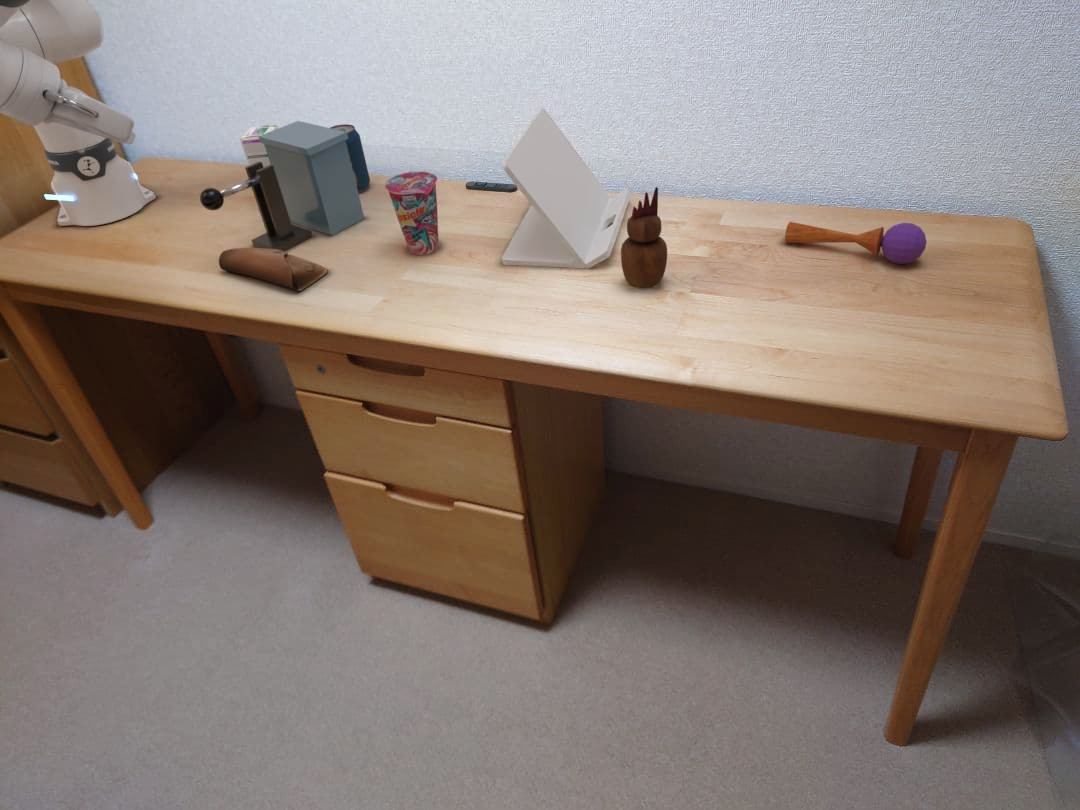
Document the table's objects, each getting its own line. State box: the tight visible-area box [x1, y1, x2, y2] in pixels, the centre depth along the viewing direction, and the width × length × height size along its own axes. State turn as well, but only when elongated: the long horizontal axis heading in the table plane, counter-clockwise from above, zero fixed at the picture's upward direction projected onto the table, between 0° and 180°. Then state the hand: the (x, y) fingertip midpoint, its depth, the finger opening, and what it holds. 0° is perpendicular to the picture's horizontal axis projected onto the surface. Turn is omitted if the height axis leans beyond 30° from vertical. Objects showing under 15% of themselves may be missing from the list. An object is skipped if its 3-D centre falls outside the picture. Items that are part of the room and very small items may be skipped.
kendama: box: [784, 221, 927, 265], centre depth 117 cm, size 6×6×20 cm
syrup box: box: [239, 124, 279, 167], centre depth 147 cm, size 6×6×14 cm
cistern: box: [259, 120, 366, 237], centre depth 139 cm, size 9×14×16 cm, turn 52°
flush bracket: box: [244, 162, 313, 252], centre depth 134 cm, size 8×7×14 cm
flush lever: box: [199, 172, 260, 211], centre depth 127 cm, size 13×4×4 cm, turn 142°
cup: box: [385, 171, 440, 256], centre depth 127 cm, size 9×8×12 cm
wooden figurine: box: [620, 186, 668, 290], centre depth 111 cm, size 7×6×15 cm
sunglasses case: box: [218, 247, 329, 292], centre depth 128 cm, size 18×7×7 cm
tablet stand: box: [501, 108, 633, 269], centre depth 126 cm, size 18×25×17 cm
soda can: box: [329, 123, 371, 194], centre depth 151 cm, size 7×7×12 cm
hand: (129, 138), depth 112 cm, fingers closed
